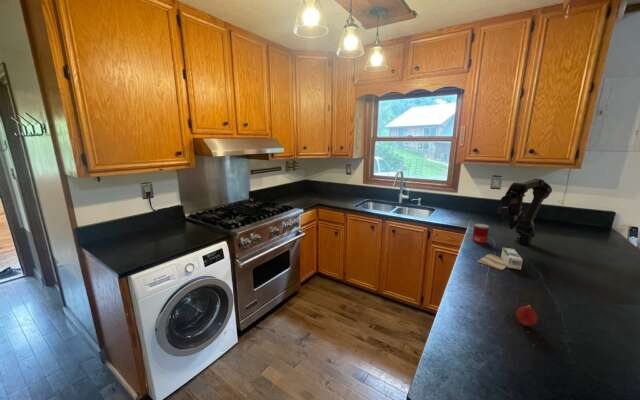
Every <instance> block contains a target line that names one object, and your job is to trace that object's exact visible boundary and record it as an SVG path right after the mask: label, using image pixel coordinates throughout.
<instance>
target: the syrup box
mask: <svg viewBox="0 0 640 400" xmlns="http://www.w3.org/2000/svg"><path fill="white" fill-rule="evenodd" d="M501 250H502V251H501V255H500V257H501V258H502V259H503V260H504V262H505V264H506V265H507V267H506V268H509V269H515V270H522V265H523V258H522V256H520V254H518V253H519V252H517V251H516V249H515V248H508V247H502V249H501Z"/></svg>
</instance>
